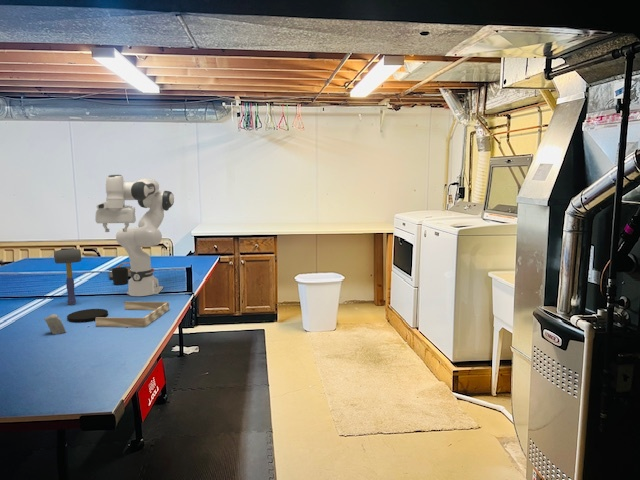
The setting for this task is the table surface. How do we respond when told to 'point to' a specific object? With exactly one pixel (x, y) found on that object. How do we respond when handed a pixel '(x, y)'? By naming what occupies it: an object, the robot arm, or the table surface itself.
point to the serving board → (118, 267)
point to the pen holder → (120, 276)
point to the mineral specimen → (55, 324)
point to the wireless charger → (86, 315)
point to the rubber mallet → (68, 268)
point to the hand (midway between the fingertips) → (116, 232)
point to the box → (135, 322)
